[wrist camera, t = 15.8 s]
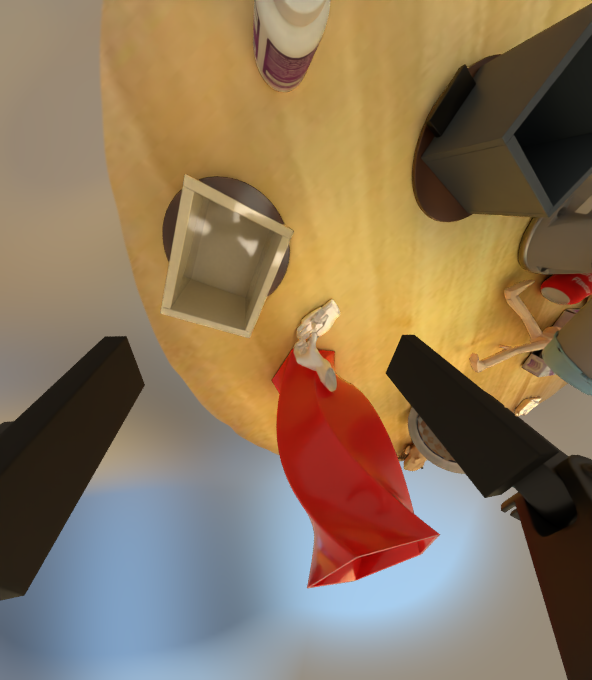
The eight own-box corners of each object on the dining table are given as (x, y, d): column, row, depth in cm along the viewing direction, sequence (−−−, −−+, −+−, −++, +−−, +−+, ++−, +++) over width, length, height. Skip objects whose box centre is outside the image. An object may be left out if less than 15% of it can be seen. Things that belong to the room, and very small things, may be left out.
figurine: (405, 455, 56) (425, 442, 70) (500, 491, 43) (502, 466, 57) (409, 386, 58) (428, 386, 72) (502, 401, 45) (503, 398, 59)
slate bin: (523, 145, 28) (642, 121, 20) (467, 213, 32) (549, 218, 23) (469, 46, 22) (608, -51, 14) (408, 144, 26) (489, 115, 17)
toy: (438, 421, 70) (419, 454, 80) (409, 433, 66) (394, 466, 77) (453, 435, 65) (432, 468, 76) (424, 449, 62) (406, 481, 73)
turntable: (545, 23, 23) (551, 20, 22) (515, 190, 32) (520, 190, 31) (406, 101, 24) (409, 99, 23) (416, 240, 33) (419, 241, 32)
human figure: (442, 354, 51) (537, 376, 56) (479, 379, 42) (589, 403, 47) (494, 271, 43) (599, 306, 48) (553, 279, 34) (675, 321, 39)
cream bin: (206, 183, 24) (184, 173, 15) (279, 221, 27) (294, 230, 19) (181, 296, 30) (156, 333, 21) (243, 316, 33) (242, 354, 25)
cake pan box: (536, 379, 54) (588, 315, 45) (515, 367, 58) (559, 306, 49) (591, 372, 57) (649, 312, 48) (567, 361, 62) (616, 304, 53)
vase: (331, 394, 49) (408, 563, 26) (269, 403, 46) (295, 600, 24) (341, 340, 41) (466, 520, 18) (266, 347, 38) (302, 569, 15)
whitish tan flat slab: (524, 398, 70) (529, 402, 68) (539, 396, 71) (545, 400, 70) (509, 414, 74) (514, 418, 73) (524, 412, 75) (529, 415, 74)
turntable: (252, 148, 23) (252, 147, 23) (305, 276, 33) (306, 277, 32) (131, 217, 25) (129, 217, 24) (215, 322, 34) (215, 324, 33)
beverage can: (535, 280, 42) (600, 231, 39) (536, 298, 45) (596, 255, 42) (576, 292, 37) (655, 238, 34) (574, 312, 41) (645, 264, 37)
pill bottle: (318, 62, 21) (362, -21, 13) (279, 108, 22) (297, 57, 14) (282, -17, 18) (311, -186, 10) (239, 41, 19) (235, -70, 11)
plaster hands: (311, 379, 27) (274, 382, 31) (335, 394, 31) (299, 395, 35) (326, 292, 34) (294, 304, 39) (344, 313, 38) (313, 322, 42)
